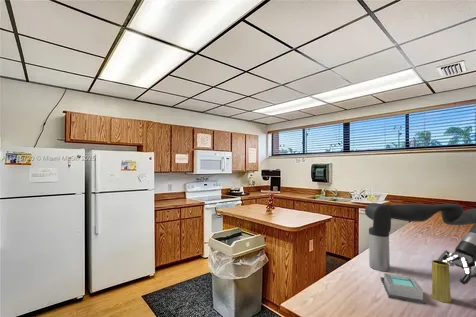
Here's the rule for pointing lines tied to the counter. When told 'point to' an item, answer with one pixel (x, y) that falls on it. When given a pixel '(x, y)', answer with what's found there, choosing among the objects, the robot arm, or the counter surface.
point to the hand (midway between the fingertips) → (449, 277)
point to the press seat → (401, 282)
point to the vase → (440, 281)
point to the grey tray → (403, 289)
